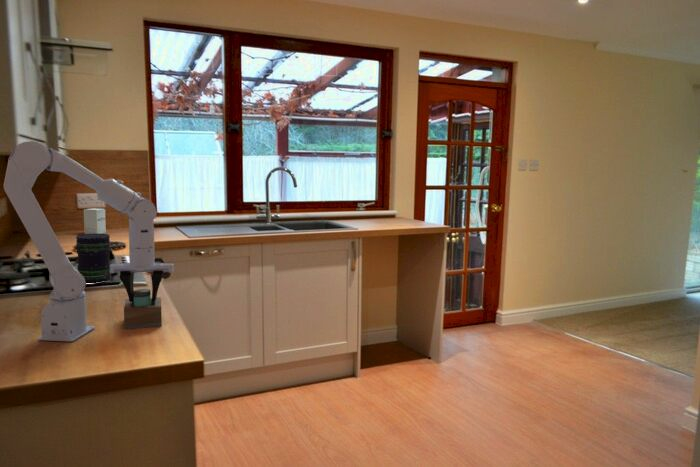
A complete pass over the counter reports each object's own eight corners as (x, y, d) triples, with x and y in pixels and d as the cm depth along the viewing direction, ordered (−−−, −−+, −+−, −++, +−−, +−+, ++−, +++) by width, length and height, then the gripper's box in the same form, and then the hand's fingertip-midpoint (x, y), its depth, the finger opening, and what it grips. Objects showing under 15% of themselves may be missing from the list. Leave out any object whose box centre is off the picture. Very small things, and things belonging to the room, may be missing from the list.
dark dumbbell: (163, 285, 171) (154, 274, 184) (177, 277, 173) (166, 267, 185) (154, 271, 169) (145, 261, 181) (168, 263, 171) (158, 254, 183)
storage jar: (74, 279, 167) (72, 234, 165) (106, 276, 173) (105, 232, 171) (81, 286, 159) (80, 239, 157) (115, 282, 166) (113, 236, 163)
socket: (161, 326, 125) (161, 306, 124) (124, 329, 122) (123, 309, 121) (161, 316, 133) (160, 297, 132) (126, 318, 130) (125, 299, 129)
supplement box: (97, 234, 256) (96, 209, 254) (83, 234, 257) (82, 209, 256) (106, 232, 264) (105, 208, 262) (93, 232, 265) (92, 207, 263)
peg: (143, 321, 125) (141, 294, 124) (130, 319, 126) (128, 292, 125) (155, 316, 128) (153, 289, 127) (143, 314, 130) (141, 288, 129)
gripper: (105, 249, 119) (107, 305, 121) (170, 249, 122) (171, 304, 124) (113, 244, 126) (114, 297, 128) (174, 244, 129) (175, 296, 131)
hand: (143, 300), depth 127 cm, fingers open, 5 cm apart
